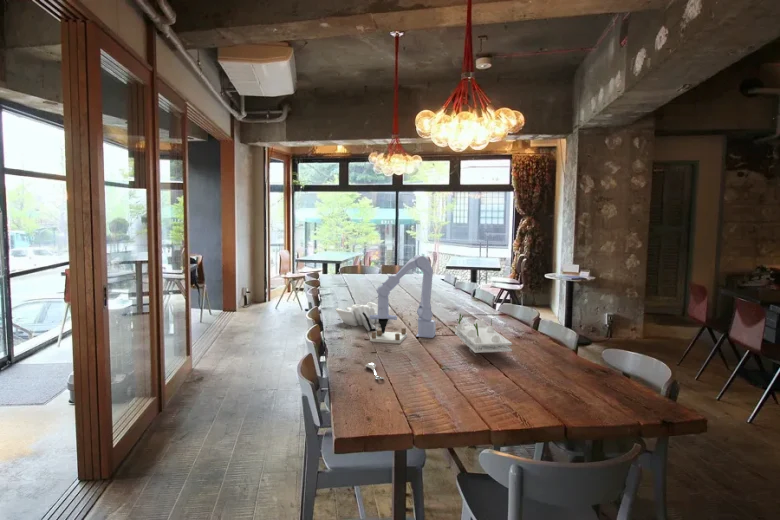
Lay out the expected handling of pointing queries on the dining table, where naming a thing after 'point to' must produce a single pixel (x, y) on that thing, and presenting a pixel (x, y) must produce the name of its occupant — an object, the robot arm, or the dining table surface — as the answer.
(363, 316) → the hinge
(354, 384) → the dining table surface
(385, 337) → the stool seat
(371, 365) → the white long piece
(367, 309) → the wavy white extrusion
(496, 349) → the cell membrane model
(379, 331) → the hammer
